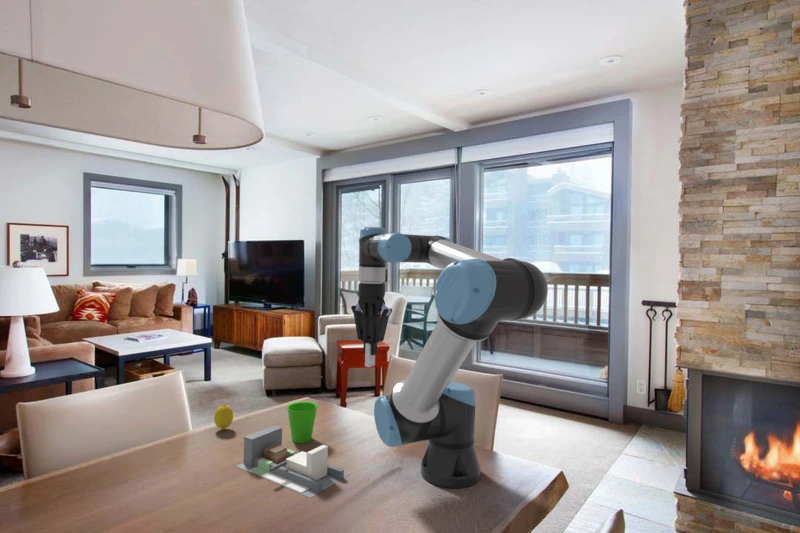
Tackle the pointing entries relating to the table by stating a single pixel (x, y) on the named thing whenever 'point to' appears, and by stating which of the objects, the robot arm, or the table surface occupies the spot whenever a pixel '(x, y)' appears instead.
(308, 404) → the cup
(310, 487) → the base
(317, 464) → the cream block
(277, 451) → the tan wooden cube
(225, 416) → the lemon
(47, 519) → the table surface
